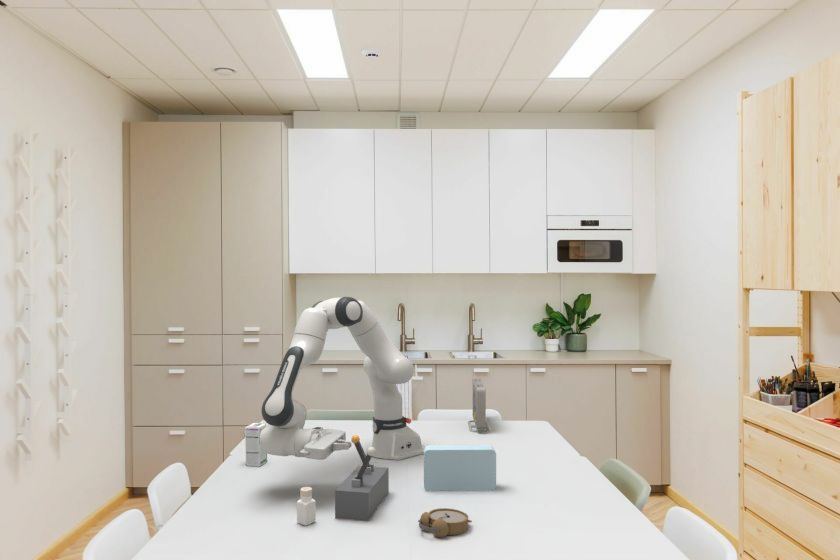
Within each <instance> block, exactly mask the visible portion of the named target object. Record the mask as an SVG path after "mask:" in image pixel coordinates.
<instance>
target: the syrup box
mask: <svg viewBox="0 0 840 560" xmlns="http://www.w3.org/2000/svg"><path fill="white" fill-rule="evenodd" d="M266 426H267V423H264V422H252V423H251V424H249V425H247V426H245V427H244V431H245V432H244V433H245V435H244V439H245V441H244V442H245V466H247V467H254V466H256V468H257V467H261V466H263V465H264V464H266V463H267V462H268V454H267V453H265V452H264V451H263V450H262V448H261V446H260V442H259V437H260V433H261V431H262V430H263V429H264V428H265V427H266Z"/></svg>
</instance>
